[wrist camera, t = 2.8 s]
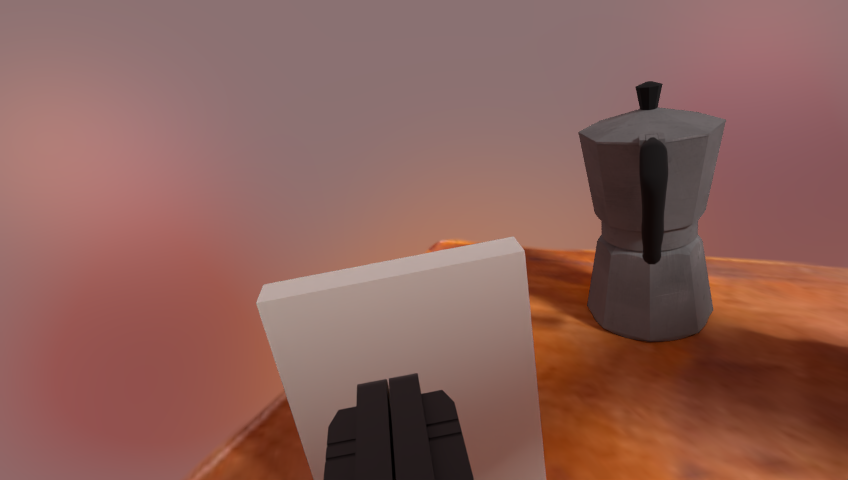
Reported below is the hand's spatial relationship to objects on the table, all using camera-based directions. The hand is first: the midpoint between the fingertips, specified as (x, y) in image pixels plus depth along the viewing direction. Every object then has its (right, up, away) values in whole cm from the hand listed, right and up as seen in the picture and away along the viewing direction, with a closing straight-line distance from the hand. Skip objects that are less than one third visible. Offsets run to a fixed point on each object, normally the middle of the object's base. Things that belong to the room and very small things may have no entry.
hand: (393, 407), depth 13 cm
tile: (+2, -10, +16) cm, 19 cm away
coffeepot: (+19, -2, +28) cm, 34 cm away
